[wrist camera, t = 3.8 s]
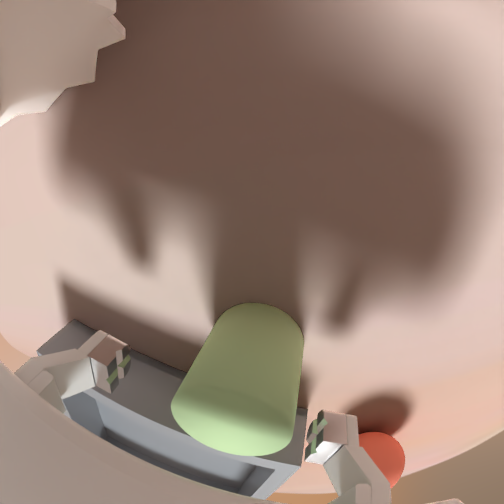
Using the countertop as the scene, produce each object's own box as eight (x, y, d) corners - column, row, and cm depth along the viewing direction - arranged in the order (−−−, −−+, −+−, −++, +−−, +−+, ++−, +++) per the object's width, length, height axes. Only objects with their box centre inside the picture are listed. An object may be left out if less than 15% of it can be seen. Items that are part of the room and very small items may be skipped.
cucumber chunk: (316, 318, 12) (312, 410, 7) (287, 382, 14) (272, 464, 9) (222, 290, 13) (172, 366, 8) (208, 358, 14) (170, 432, 10)
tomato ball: (413, 420, 13) (424, 480, 9) (377, 455, 15) (379, 508, 11) (350, 413, 14) (351, 481, 9) (319, 449, 16) (313, 506, 11)
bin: (307, 409, 14) (300, 466, 11) (248, 489, 20) (239, 520, 17) (74, 318, 16) (36, 350, 12) (104, 431, 22) (86, 456, 18)
